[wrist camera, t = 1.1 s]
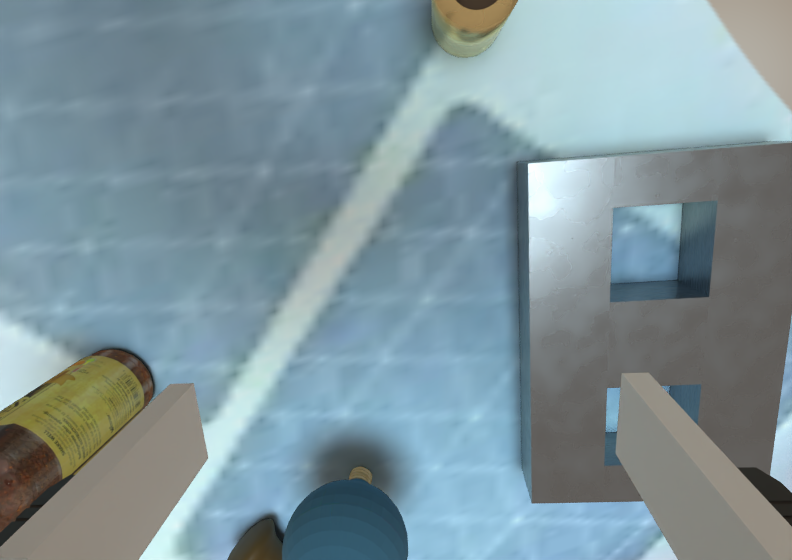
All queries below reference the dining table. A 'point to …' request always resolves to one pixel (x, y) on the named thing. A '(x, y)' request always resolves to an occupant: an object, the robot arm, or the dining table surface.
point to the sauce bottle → (66, 425)
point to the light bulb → (346, 523)
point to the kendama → (258, 543)
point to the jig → (651, 307)
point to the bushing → (468, 24)
